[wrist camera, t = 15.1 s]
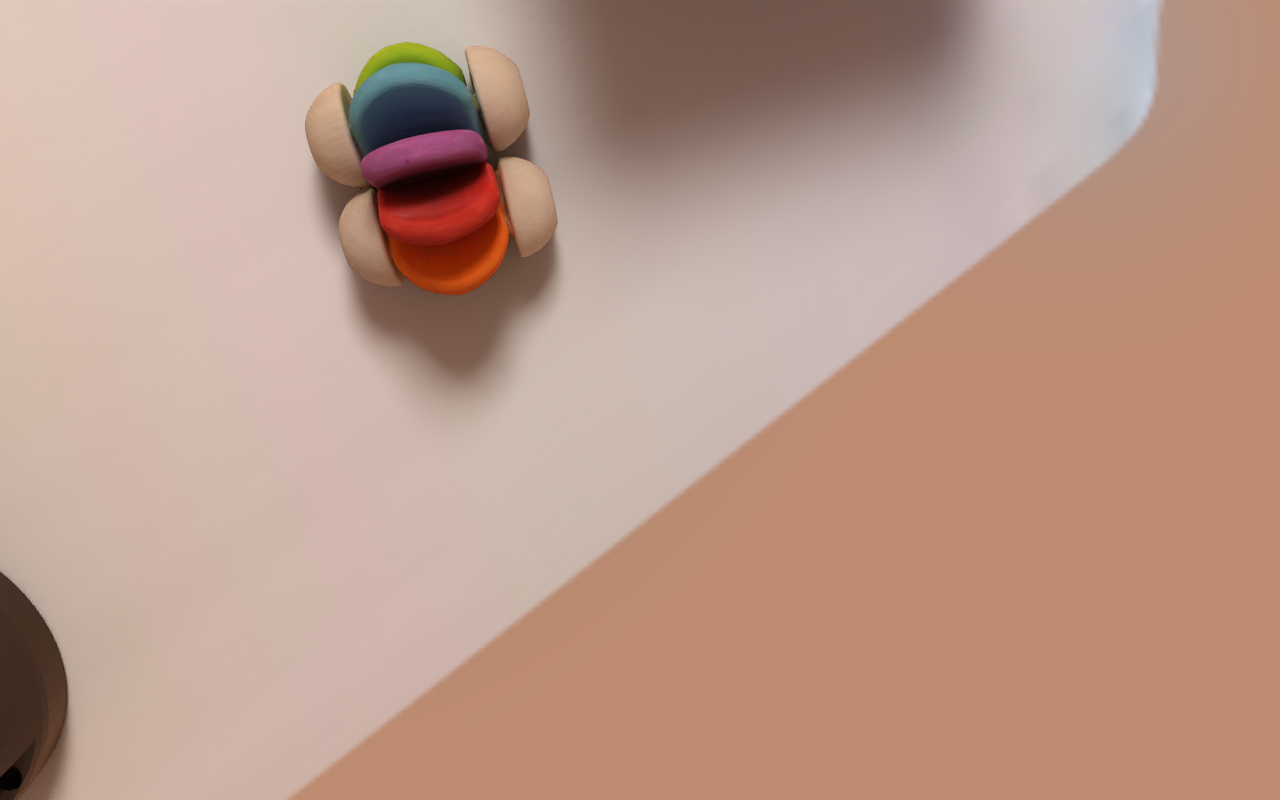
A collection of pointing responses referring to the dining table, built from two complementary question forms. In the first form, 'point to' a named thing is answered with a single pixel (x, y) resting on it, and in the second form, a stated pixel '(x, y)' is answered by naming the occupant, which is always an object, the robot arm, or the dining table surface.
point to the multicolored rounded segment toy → (431, 168)
